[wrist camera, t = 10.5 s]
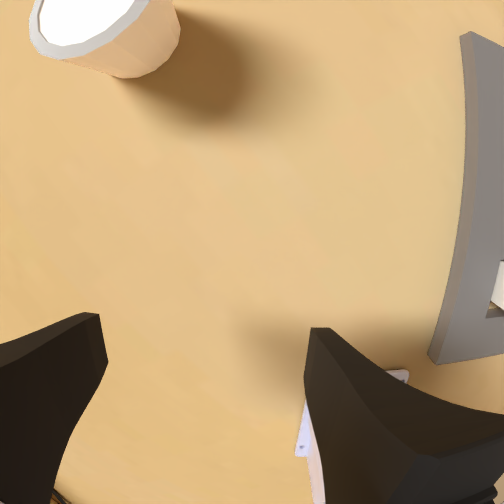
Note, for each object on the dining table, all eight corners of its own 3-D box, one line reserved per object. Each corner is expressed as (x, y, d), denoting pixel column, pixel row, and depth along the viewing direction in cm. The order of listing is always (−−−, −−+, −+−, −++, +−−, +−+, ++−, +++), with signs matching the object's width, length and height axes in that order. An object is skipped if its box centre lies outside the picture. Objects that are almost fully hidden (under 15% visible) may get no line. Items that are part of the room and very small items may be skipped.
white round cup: (165, -21, 14) (132, -80, 7) (210, 50, 16) (186, -5, 9) (77, 34, 15) (17, 0, 8) (111, 109, 17) (46, 90, 10)
